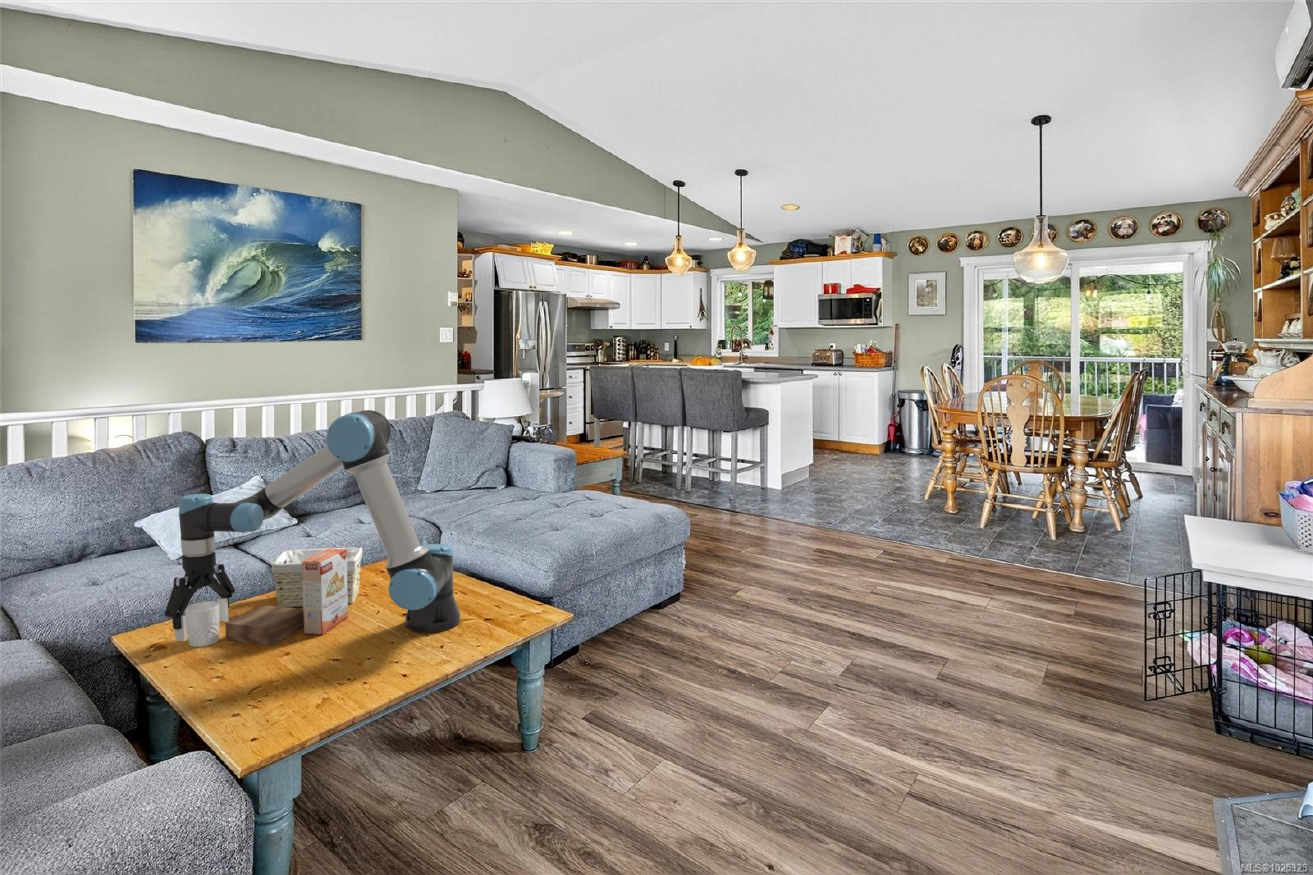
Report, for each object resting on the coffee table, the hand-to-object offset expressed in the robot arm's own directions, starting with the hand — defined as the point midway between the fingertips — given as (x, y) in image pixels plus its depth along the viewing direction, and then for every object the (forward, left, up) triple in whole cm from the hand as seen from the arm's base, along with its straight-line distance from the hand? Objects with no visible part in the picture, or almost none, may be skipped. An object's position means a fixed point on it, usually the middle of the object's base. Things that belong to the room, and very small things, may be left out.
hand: (203, 630), depth 191 cm
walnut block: (-12, -9, -3) cm, 15 cm away
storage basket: (-8, -36, -4) cm, 37 cm away
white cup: (0, 0, -4) cm, 4 cm away
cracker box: (-24, -18, -4) cm, 30 cm away
